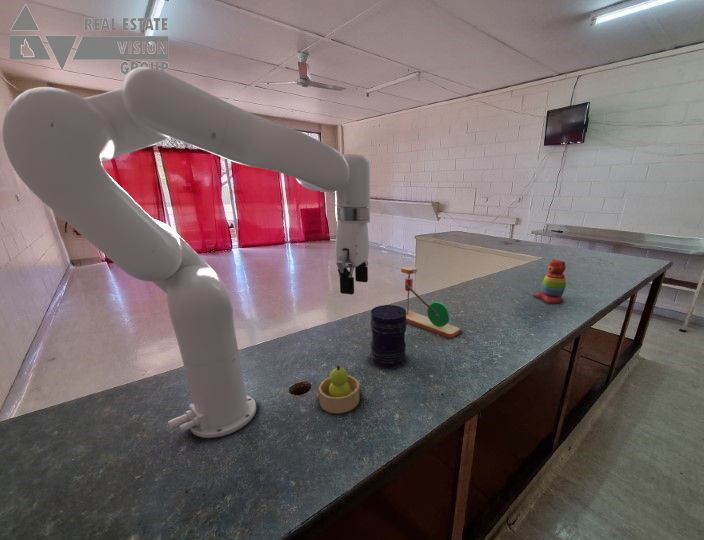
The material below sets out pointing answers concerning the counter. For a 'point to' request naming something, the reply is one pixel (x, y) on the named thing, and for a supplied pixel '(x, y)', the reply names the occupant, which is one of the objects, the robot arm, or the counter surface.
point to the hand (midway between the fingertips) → (354, 287)
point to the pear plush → (339, 383)
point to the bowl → (339, 403)
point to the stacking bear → (553, 283)
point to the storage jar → (388, 336)
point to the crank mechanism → (428, 312)
